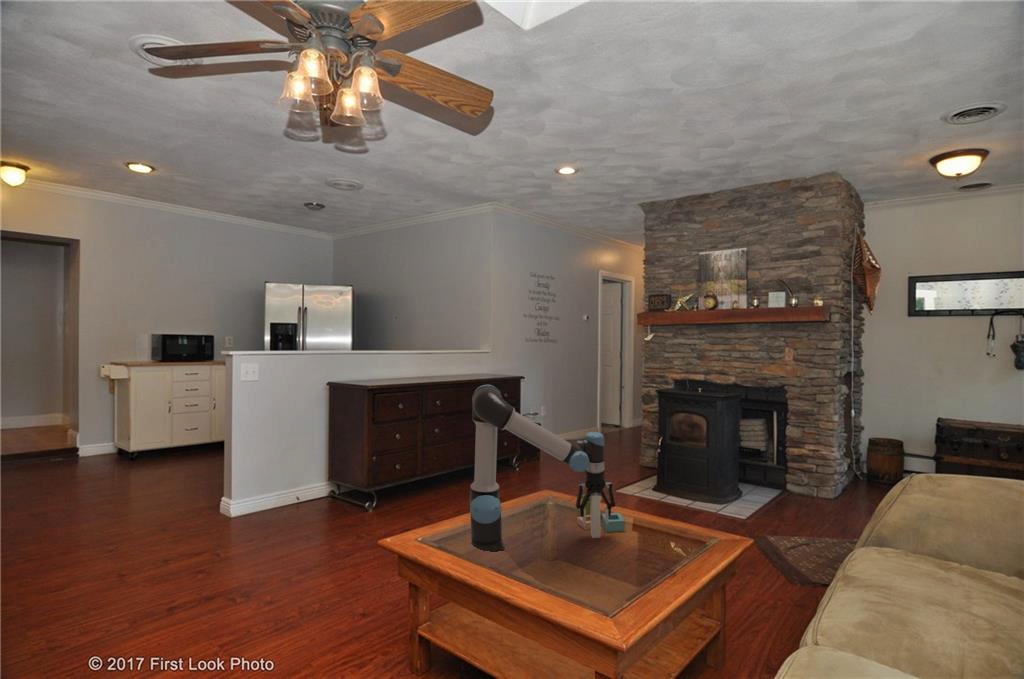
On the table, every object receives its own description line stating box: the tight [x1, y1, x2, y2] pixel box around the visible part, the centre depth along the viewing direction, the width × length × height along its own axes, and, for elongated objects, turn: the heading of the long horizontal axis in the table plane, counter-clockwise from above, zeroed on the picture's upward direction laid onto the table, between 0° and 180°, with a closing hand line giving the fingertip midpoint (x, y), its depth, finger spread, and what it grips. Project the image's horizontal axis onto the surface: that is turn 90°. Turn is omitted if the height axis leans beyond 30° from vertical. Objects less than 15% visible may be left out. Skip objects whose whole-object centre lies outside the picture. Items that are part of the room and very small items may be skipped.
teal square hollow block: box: [601, 512, 626, 533], centre depth 237 cm, size 8×8×4 cm
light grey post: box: [590, 492, 602, 539], centre depth 229 cm, size 3×3×20 cm
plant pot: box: [581, 493, 603, 515], centre depth 248 cm, size 9×9×9 cm
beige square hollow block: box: [576, 514, 591, 531], centre depth 240 cm, size 7×7×3 cm
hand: (595, 523), depth 229 cm, fingers open, 9 cm apart
